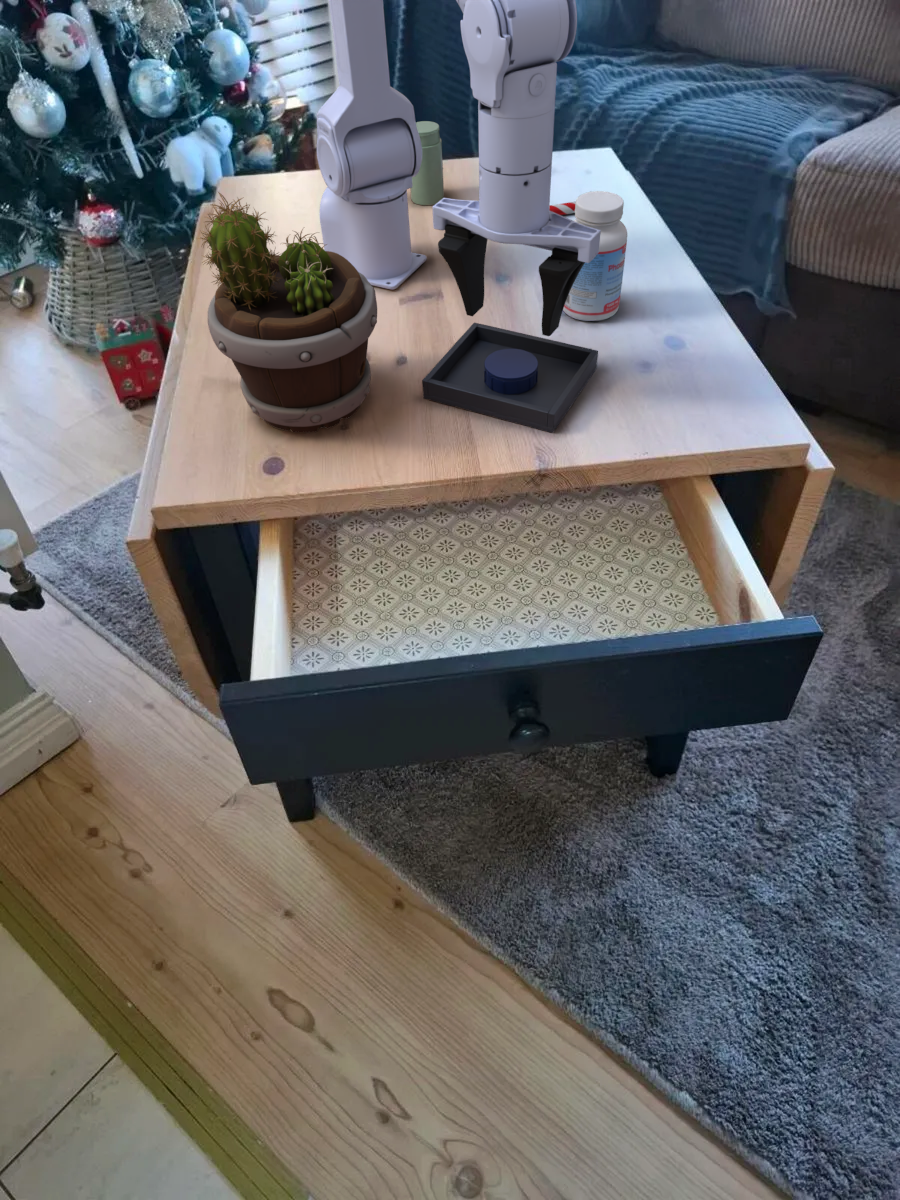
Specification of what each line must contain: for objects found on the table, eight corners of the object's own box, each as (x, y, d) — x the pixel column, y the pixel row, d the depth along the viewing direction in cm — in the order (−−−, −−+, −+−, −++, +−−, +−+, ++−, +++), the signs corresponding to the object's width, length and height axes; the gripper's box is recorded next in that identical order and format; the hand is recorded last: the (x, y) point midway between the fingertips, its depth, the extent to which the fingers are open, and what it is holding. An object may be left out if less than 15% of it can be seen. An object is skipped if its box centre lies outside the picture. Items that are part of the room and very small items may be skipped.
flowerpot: (379, 350, 85) (356, 138, 70) (394, 442, 75) (370, 216, 60) (235, 366, 84) (180, 154, 69) (230, 461, 74) (164, 237, 59)
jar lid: (500, 400, 78) (500, 383, 76) (475, 374, 81) (475, 357, 79) (547, 385, 79) (548, 368, 78) (520, 359, 82) (520, 343, 81)
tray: (423, 398, 79) (421, 380, 78) (474, 339, 86) (474, 322, 84) (553, 433, 75) (554, 414, 73) (596, 368, 81) (598, 350, 80)
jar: (405, 202, 108) (400, 130, 102) (420, 189, 111) (415, 118, 104) (435, 207, 107) (431, 134, 101) (449, 194, 110) (446, 122, 103)
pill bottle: (616, 325, 86) (630, 216, 78) (557, 321, 87) (564, 212, 79) (620, 296, 90) (633, 189, 82) (564, 292, 91) (571, 186, 83)
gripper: (622, 157, 65) (604, 317, 75) (459, 129, 70) (463, 283, 80) (585, 192, 61) (571, 356, 71) (415, 159, 66) (425, 317, 76)
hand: (511, 320), depth 75 cm, fingers open, 7 cm apart
